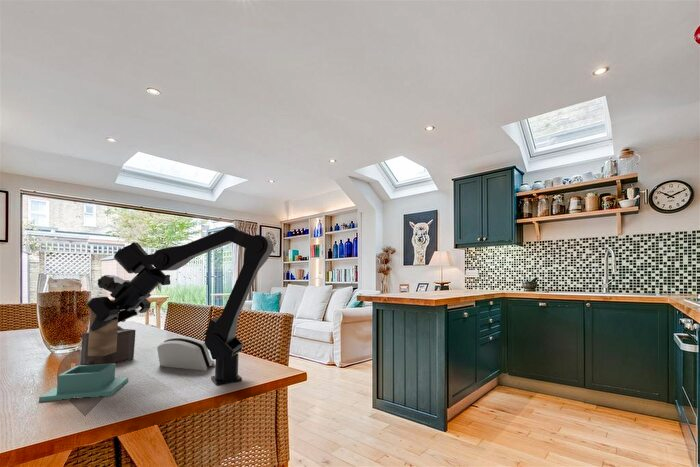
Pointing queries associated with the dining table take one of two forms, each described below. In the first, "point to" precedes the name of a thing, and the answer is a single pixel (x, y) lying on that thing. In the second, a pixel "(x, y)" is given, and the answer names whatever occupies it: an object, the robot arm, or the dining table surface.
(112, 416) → the dining table surface
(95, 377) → the well
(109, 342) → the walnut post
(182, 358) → the grey curved block
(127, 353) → the dark brown wooden block
